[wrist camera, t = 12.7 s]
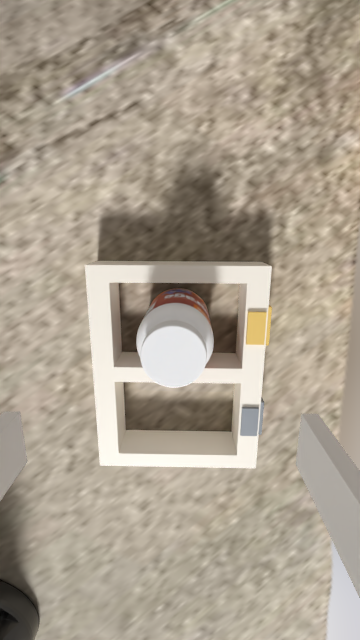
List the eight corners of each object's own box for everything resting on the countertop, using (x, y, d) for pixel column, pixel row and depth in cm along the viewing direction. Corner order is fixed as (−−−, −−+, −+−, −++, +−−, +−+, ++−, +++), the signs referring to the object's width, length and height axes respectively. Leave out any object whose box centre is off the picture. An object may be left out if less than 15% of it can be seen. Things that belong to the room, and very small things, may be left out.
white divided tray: (109, 441, 37) (99, 467, 33) (97, 260, 31) (83, 265, 27) (251, 443, 37) (260, 470, 32) (265, 261, 31) (277, 266, 27)
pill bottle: (219, 304, 32) (235, 340, 22) (190, 354, 34) (192, 411, 23) (164, 275, 32) (153, 298, 21) (137, 328, 33) (114, 374, 23)
